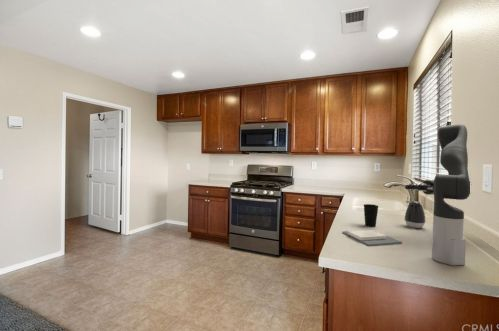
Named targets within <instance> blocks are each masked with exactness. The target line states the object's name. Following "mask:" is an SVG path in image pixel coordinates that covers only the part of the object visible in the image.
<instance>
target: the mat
mask: <svg viewBox="0 0 499 331" xmlns="http://www.w3.org/2000/svg"><path fill="white" fill-rule="evenodd" d="M362 230H363V229H362ZM362 230H358V231H362ZM348 231H349V230H345V231H342V232H341V233H342V234H343V235H346V236H347V237H349V238H352V239H354V240H356V241H357V242H360V243H361V244H363V243H364V245H365V244H366V246H367V247H373V246H375V247H376V246H386V245H387V246H388V245H401V244H403V241H400V240H399V239H396V238H394V237H391V236H389V235H386V236H387V239H374V240H359V239H357V238H355V237H353V236H351V235H349V234H348Z"/></svg>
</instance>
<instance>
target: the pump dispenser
mask: <svg viewBox="0 0 499 331" xmlns="http://www.w3.org/2000/svg"><path fill="white" fill-rule="evenodd" d="M407 205H408V206H407V208H406V210H405V214H404V221H405V224H406V225H407V226H408V227H410V228H413V229H422V228H423V227H424V226H425V224H426V221H427V220H426V215H425V211H424V207H423V206H422V204H421V202H419V201H418V200H413V201H411V202H409V203H408V204H407Z"/></svg>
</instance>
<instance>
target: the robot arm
mask: <svg viewBox="0 0 499 331" xmlns="http://www.w3.org/2000/svg"><path fill="white" fill-rule="evenodd" d="M437 140H438V142H439V145H440V146H439V147H440V148H441V151H440V159H439V163H440V165H441V166H442V168H444V169H445V170H446V171H447V174H436V175H435V176H434V179H425V180H424V181H422V182H418V183H409V184H405V187H404V189H405V190H412V191H419V192H422V193H423V194H425V195H433V215H432V216H433V218H432V220H433V221H432V244H431V246H432V248H431V259H433V260H434V261H436V262H438V263H442V264H444V265H450V266H451V267H453V266H462V265H464V266H465V264H466V251H467V250H466V249H467V248H466V247H467V246H466V244H467V240H466V239H465V238H464V226H465V225H464V222H465V218H464V217H465V211H463V210H462V209H461V208H458V207H456V206H453V205H450V204H449V203H447V202H446V201H445V200H446V199H447V200H448V199H449V200H457V201H459V200H460V201H461V200H462V201H463V200H467V199H468V198H469V197H470V194H471V193H470V183H471V181H470V176H469V170H468V164H469V159H468V157H469V156H468V155H469V154H468V148H467V141H468V129H467V126H466V125H465V124H462V123H456V124H449V125H443V126H440V127H438V129H437ZM444 199H445V200H444Z"/></svg>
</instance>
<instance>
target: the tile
mask: <svg viewBox="0 0 499 331" xmlns="http://www.w3.org/2000/svg"><path fill="white" fill-rule="evenodd" d="M347 231H348V234H349V235H351V236H353V237H355V238H357V239H359V240H374V239H387V236H388V235H387V234H383V233H381V232H378V231H376V230H374V229H362V231H359V230H347Z"/></svg>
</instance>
